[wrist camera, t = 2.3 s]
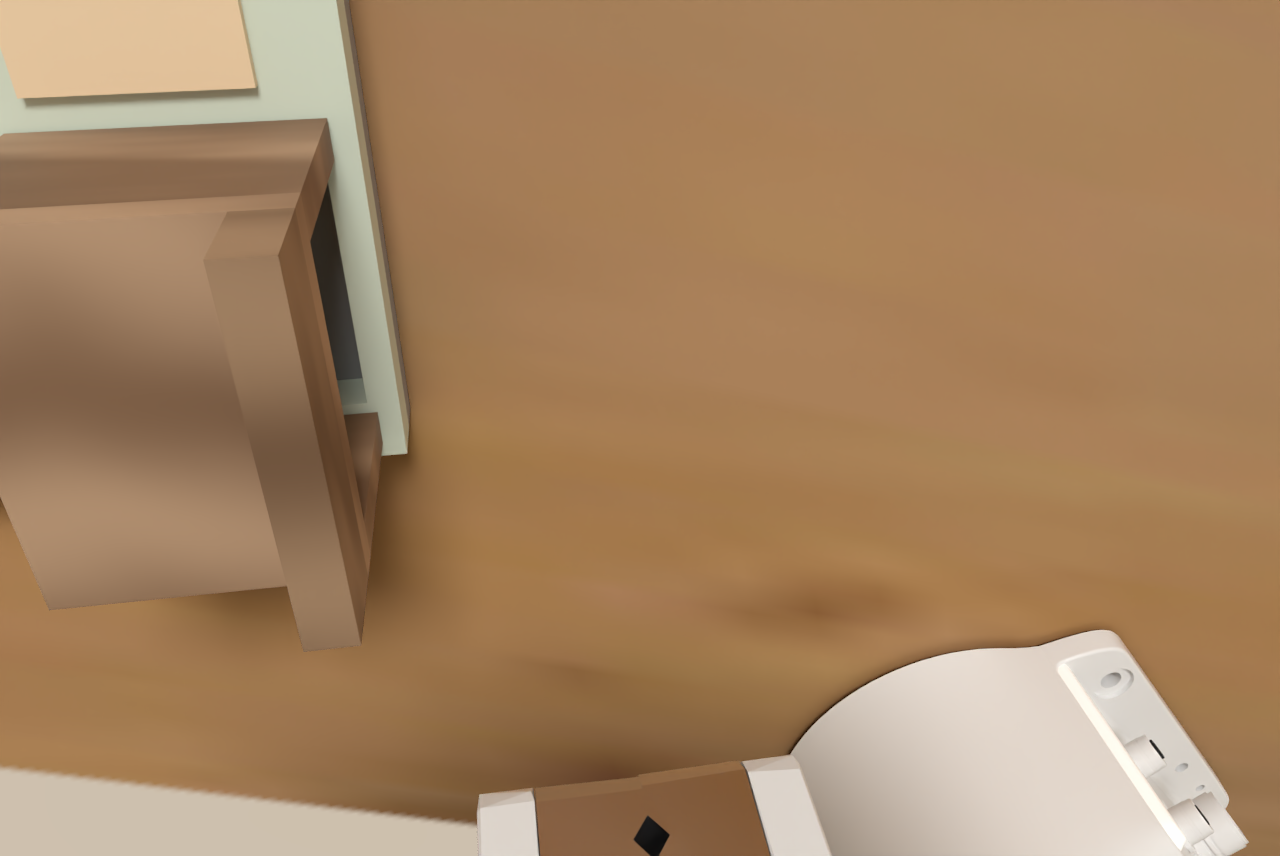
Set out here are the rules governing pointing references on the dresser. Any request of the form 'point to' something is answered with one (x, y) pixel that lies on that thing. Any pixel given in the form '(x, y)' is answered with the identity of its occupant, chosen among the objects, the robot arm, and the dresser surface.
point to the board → (227, 93)
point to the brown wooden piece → (179, 372)
